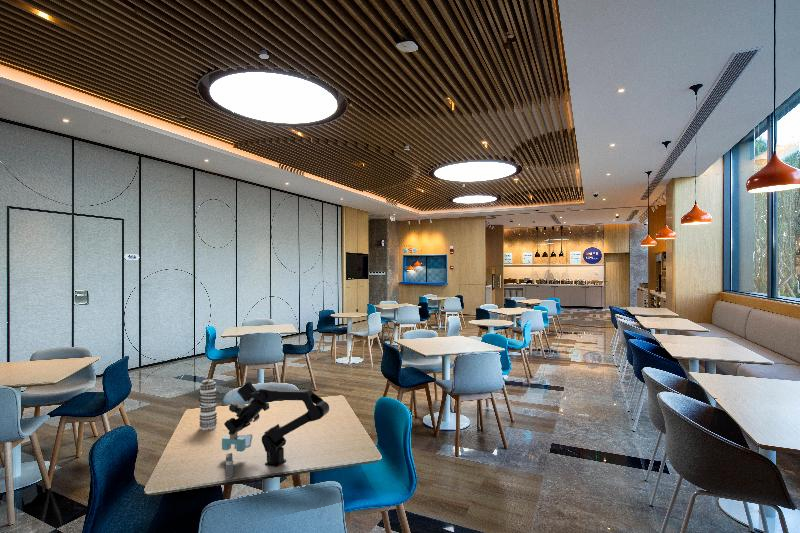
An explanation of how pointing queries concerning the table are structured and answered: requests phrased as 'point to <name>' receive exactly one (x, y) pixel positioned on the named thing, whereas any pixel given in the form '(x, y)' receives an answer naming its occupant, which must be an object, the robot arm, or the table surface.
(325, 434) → the table surface
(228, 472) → the slotted bar
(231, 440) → the blue brown t-shaped block
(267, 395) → the robot arm
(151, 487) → the table surface
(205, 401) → the decorative candle
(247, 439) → the smartphone
